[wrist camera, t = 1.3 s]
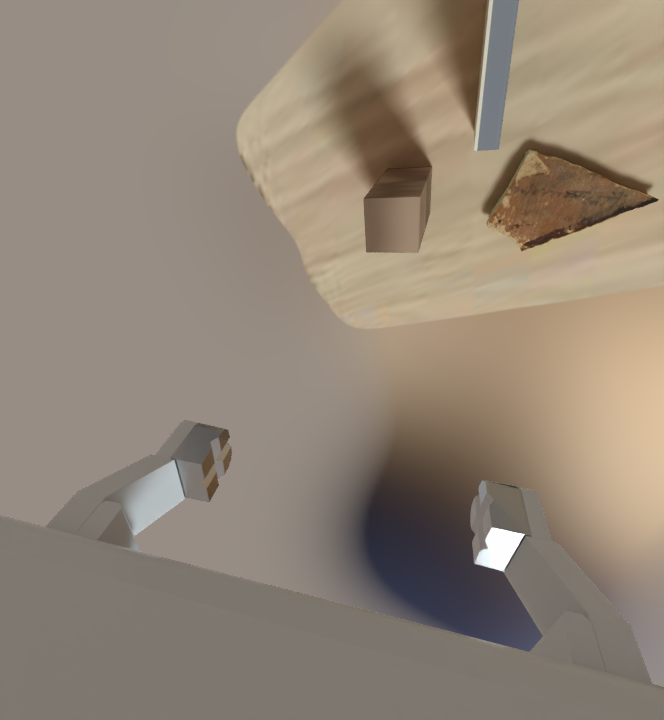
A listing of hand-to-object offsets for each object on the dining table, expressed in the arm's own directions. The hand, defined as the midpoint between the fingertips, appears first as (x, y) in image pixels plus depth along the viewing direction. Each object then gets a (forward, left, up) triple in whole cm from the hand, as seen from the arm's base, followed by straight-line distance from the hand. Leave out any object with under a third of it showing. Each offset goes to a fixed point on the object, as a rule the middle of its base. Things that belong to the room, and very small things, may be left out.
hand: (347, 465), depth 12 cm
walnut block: (+2, -1, -31) cm, 31 cm away
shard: (-11, -1, -32) cm, 34 cm away
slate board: (-4, -9, -31) cm, 33 cm away
